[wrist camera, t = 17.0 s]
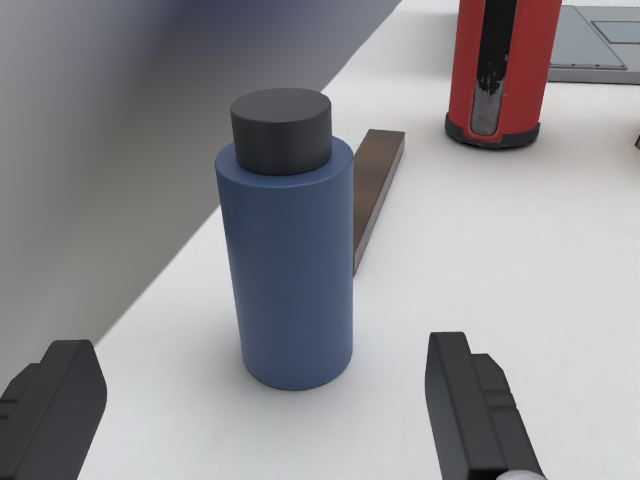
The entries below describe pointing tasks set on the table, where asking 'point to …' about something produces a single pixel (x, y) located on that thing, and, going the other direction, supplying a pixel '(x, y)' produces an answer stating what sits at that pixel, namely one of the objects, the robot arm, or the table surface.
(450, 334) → the robot arm
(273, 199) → the water bottle
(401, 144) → the walnut strip
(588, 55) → the laptop
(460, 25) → the speaker
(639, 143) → the mug
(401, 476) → the table surface
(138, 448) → the table surface
